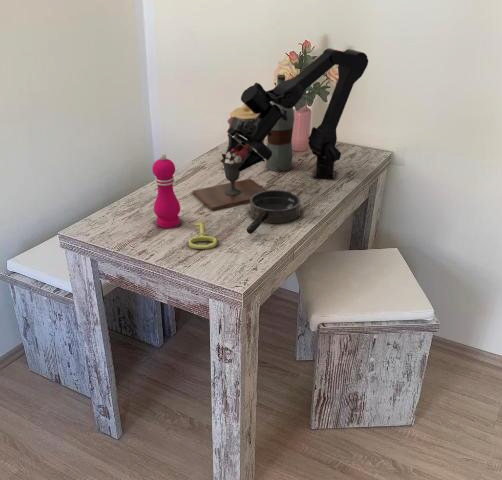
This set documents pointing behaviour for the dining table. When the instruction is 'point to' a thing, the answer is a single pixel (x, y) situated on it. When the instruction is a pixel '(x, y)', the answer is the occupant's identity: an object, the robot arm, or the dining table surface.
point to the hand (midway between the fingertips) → (231, 165)
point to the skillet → (275, 206)
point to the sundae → (232, 169)
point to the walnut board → (219, 199)
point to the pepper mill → (165, 193)
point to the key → (202, 238)
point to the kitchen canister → (243, 114)
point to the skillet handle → (257, 222)
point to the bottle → (281, 139)
